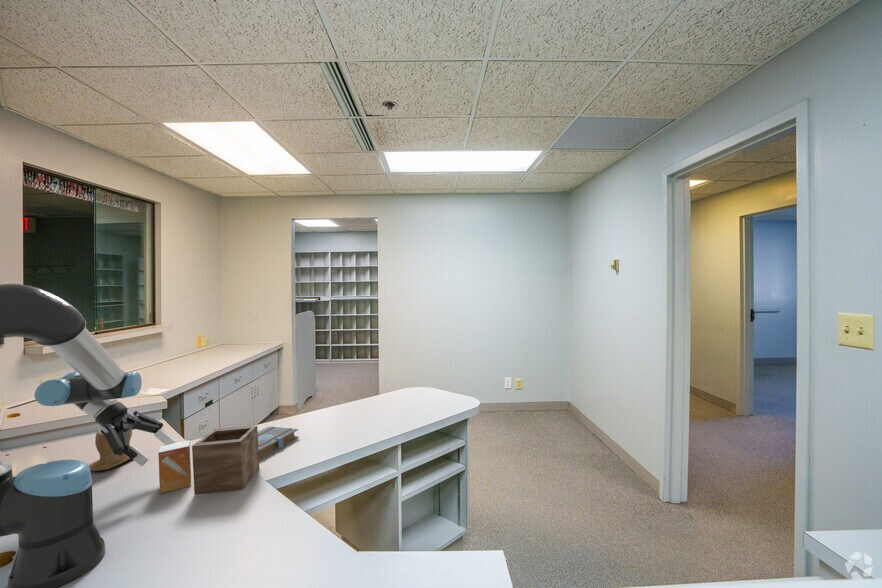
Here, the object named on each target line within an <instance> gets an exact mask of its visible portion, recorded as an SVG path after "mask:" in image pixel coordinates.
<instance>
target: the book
mask: <svg viewBox="0 0 882 588" xmlns="http://www.w3.org/2000/svg"><path fill="white" fill-rule="evenodd" d="M297 431H299V429H298V428H292V427H279V426H266V427H265V428H263V429H261V430H258V450H259V461H261V460H263V459H264V458H266V457H268V456H270V455H272V454H273V453H275V452H277V451H278V450H281V449H283V448H284V447H285V446H287V445H289V444H291V443H292V442H294V441H296V440H298V439H299V436H298V435H297V436H296V435H295V432H297Z"/></svg>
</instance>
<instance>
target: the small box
mask: <svg viewBox="0 0 882 588" xmlns="http://www.w3.org/2000/svg"><path fill="white" fill-rule="evenodd" d="M191 458H192V457H191V440H190V439H189V440H184V441H178V442H174V443H173V444H169V445H165V444H164V445H160V446H159V450H158V476H159V477H158V478H159V481H158V482H159V494H163V493H168V492H171V491H176V490H178V489H183V488H186V487H191V486H192V462H191Z"/></svg>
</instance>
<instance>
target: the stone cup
mask: <svg viewBox="0 0 882 588" xmlns="http://www.w3.org/2000/svg"><path fill="white" fill-rule="evenodd" d="M101 429H102V428H99V429H98V431H96V433H95V437H94V438H95V441H94V443H95V448H96V449H97V452H98V455H99V459H98V460H95V461H94V462H92V463H90V464H88V465H89V467H90V471H95V472H96V471H97V472H98V471H106V470H109V469H110V470H111V468H114V467H117V466H119V465H121V464H123V463H125V462H127V461H129V460H132V459H131V458H129V457H128V456H127V455H125V454H124V453H123V454H122V455H118V454H117V455H115V454H114V453H113V451H112V449H111V447H110V445H109V443H108V441H107V439H106V437H105V436H104V435H103V434H102V433H101V432H100V430H101ZM127 434H128V439H129V444H131V443H130V442H131V438H132V437H133V436H132V435H133V430H130V431H127ZM131 446H132V445H130V447H131ZM117 448H118V447H117Z"/></svg>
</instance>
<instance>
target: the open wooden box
mask: <svg viewBox="0 0 882 588" xmlns="http://www.w3.org/2000/svg"><path fill="white" fill-rule="evenodd" d="M258 429H259V428H258V425H247V426H238V427H237V426H235V427H224V428H214V429H213V430H212V431H210V432H208V433H207V434H206V435H205V436H203V437H202V438H200V439H198V441H196V442H195V443H194V444H193V445H191V451H192V454H191V455H192V457H191V458H192V472H193V491H194V492H193V493H194V496H195V495H204V494H212V493H223V492H225V493H226V492H233V491H241V490H242V491H243V490H244V488H245V487H246V486H247V485H248V483H249V482H250V481H251V480H252V478H253V477H254V476H255V474H256V473H257V472H258V470H260V460H259V450H258V432H259V430H258Z"/></svg>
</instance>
